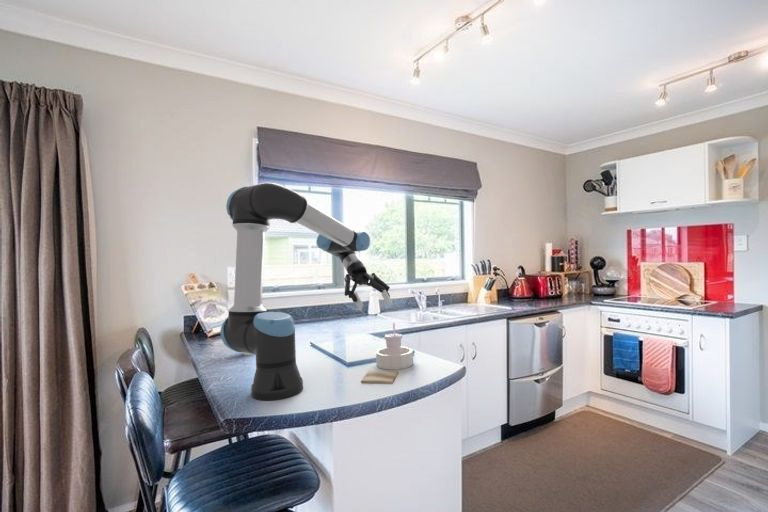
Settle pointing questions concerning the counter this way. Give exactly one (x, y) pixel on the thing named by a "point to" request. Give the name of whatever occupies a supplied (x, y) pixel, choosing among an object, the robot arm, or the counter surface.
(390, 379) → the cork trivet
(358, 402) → the counter surface
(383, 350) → the bowl
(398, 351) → the smoothie
